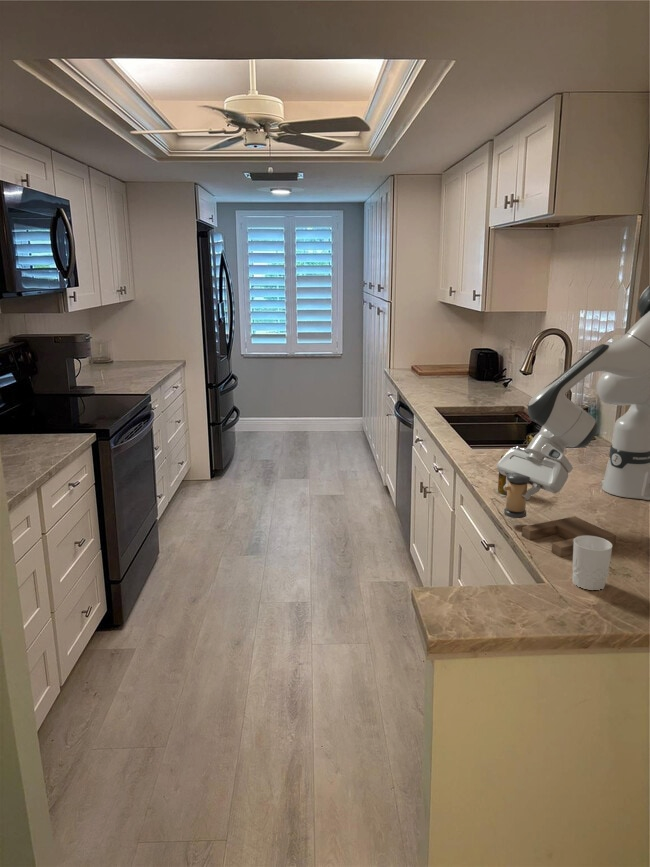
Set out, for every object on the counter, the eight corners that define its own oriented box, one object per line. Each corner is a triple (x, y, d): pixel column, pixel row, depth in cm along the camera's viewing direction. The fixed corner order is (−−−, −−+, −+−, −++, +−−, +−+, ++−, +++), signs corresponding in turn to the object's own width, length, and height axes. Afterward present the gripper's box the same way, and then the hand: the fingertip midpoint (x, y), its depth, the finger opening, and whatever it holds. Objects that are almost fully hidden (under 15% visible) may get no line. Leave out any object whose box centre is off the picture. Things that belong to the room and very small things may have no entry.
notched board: (574, 524, 172) (574, 516, 171) (615, 544, 159) (616, 535, 159) (521, 535, 165) (522, 526, 164) (560, 557, 153) (561, 547, 152)
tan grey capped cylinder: (516, 508, 175) (519, 471, 172) (530, 516, 170) (534, 477, 167) (496, 512, 172) (498, 474, 170) (509, 520, 167) (512, 481, 164)
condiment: (493, 489, 200) (495, 453, 197) (518, 488, 201) (521, 452, 198) (501, 497, 193) (504, 460, 190) (528, 496, 194) (530, 459, 191)
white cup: (615, 589, 137) (620, 547, 134) (585, 595, 135) (589, 552, 132) (591, 573, 144) (595, 533, 142) (562, 578, 142) (566, 537, 140)
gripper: (508, 438, 179) (481, 477, 176) (568, 456, 162) (540, 499, 160) (518, 451, 182) (492, 489, 180) (578, 470, 165) (550, 512, 163)
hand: (515, 494), depth 170 cm, fingers closed on tan grey capped cylinder, 5 cm apart
